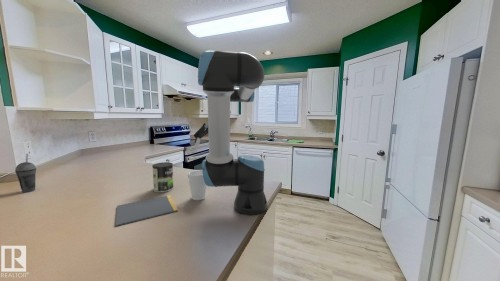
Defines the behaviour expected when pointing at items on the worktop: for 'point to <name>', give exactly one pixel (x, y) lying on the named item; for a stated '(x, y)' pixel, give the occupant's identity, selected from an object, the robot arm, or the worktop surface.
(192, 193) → the foam cup
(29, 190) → the beverage cup
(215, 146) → the robot arm
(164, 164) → the coffee can
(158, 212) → the mat
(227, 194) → the worktop surface
